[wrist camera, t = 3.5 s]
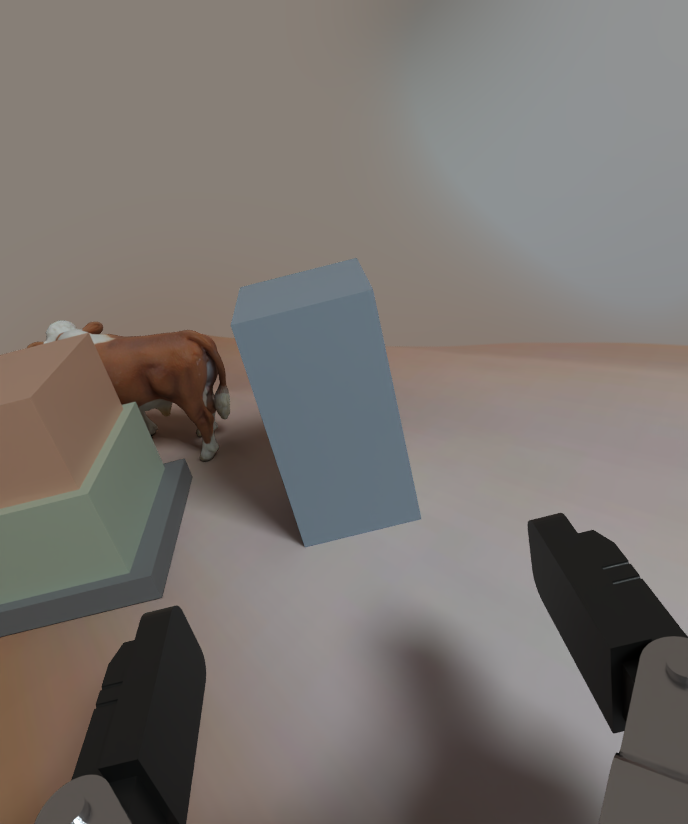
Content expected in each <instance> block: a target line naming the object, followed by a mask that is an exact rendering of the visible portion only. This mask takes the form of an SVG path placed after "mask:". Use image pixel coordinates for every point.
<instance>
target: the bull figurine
mask: <svg viewBox="0 0 688 824" xmlns="http://www.w3.org/2000/svg"><path fill="white" fill-rule="evenodd" d="M102 330H103V325H102V324H101V323H100V322H90V323H88V324H87V325H86V326H85V327H84V328H83V329H80V330H79V329H77V328H76V326H75V325H74V324H73V323H71V322H68V321H57V322H55V323H53V324H51V325H50V326H49V328H48V329H47V331H46V341H45V342H34V343H32V344H30V345H29V346H28V347H27V348H30V347H34V346H38V345H41V344H45V343H49V342H53V341H57V340H61V339H65V338H69V337H73V336H77V335H81V334H85V333H89V334H90V336H91V338H92V341H93V343H94V345H95V347H96V349H97V352H98V354H99V356H100V358H101V360H102V363H103V365H104V367H105V369H106V371H107V374H108V376H109V378H110V380H111V382H112V385H113V387H114V389H115V391H116V393H117V396H118V398H119V400H120V402H121V404H122V405H124V404H128V403H132V402H136V404H137V406H138V408H139V410H140V413H141V415H142V417H143V420H144V422H145V424H146V426H147V429H148V431H149V433H150V435H152V434H154V433H155V432H156V430H157V429H158V427H157V425H156V424H154V423H153V422H152V421H151V420H150V419H149V418H148V417H147V415H146V413H145V411H149V410H151V409H154V408H156V409H158V410H159V411H160V412H161V413H162V414H163V415H164V416H169V415H170V410H171V407H172V403H175V404H177V405H178V406H179V407H180V408H182V409H183V410H184V411H185V413H186V414H187V415H188V417H189V418H190V419H191V420H192V421H193V422H194V423H195V424H196V426H197V428H198V429H197V432H196V433H197V435H198V436H202V439H203V448H202V451H201V455H200V460H202V461H208V460H210V459H212V458H213V457H214V455H215V452H216V451H217V450H218V448H219V445H218V444H217V443H216V440H215V437H214V430H215V429H217V428H218V425H217V423H216V422H215V413H216V410H217V412H218V414H219V415H220V417H221V418H222V419H227V418H228V416H229V414H230V395H229V391H228V388H227V385H226V378H225V377H226V375H225V368H224V365H223V362H222V360H221V357H220V355H219V353H218V352H217V348H216V345H215V343H214V341H213V340H212V339H211V338H210V337H208V336H206V335H203V334H200V333H198V332H196V331H192V330H184V331H179V332H172V333H161V334H154V335H148V336H134V337H133V336H131V337H123V336H117V335H112V334H100V333H101V332H102ZM218 374H219V380H220V384H219V387H218V389H217V391H216V393H215V395H214V394H213V385H214V383H215V381H216V378H217V375H218Z"/></svg>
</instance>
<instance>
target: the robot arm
mask: <svg viewBox="0 0 688 824" xmlns="http://www.w3.org/2000/svg"><path fill="white" fill-rule="evenodd" d="M528 535H529V544H530V553H531V562H532V571H533V576H534V580H535V584H536V587H537V590H538V593H539V595H540V597H541V599H542V601H543V603H544V605H545V607H546V609H547V611H548V613H549V615H550V616H551V618H552V620H553V622H554V624H555V626H556V628H557V629H558V631H559V633H560V635H561V637H562V639H563V641H564V643H565V644H566V646H567V648H568V650H569V652H570V654H571V656H572V658H573V659H574V661H575V663H576V665H577V667H578V669H579V671H580V673H581V674H582V676H583V678H584V680H585V682H586V684H587V686H588V687H589V689H590V691H591V693H592V695H593V697H594V699H595V701H596V702H597V704H598V706H599V708H600V710H601V712H602V714H603V716H604V717H605V719H606V721H607V723H608V725H609V727H610V729H611V731H612V732H613V733H618V732H622V731H624V736H623V740H622V745H621V749H620V752H619V753H616V754H615V756H614V759H613V762H612V766H611V770H610V774H609V779H608V783H607V788H606V793H605V797H604V802H603V806H602V811H601V815H600V820H599V824H688V636H687V635H686V634H685V633H684V632H683V630H682V629H681V628H680V627H679V625H678V624H677V623H676V621H675V620H674V619H673V618H672V616H671V615H670V614H669V612H668V611H667V610H666V609H665V607H664V606H663V605H662V603H661V602H660V601H659V600H658V598H657V597H656V596H655V594H654V593H653V592H652V591H651V589H650V588H649V587H648V585H647V584H646V583H645V582H644V580H643V579H641V578H640V576H639V574H638V573H637V571H636V570H635V569H634V567H633V566H632V565H631V564H629V562H628V560H627V558H626V557H625V556H624V555H623V553H622V552H621V551H620V549H619V548H618V547H617V546H616V544H615V543H614V542H612V541H611V540H609V539H607V538H606V537H604V536H602V535H601V534H599V533H598V532H596V531H594V530H590V531H586V532H582V533H577V532H576V530H575V529H574V527H573V526H572V525H571V523H570V522H569V520H568V519H567V518H566V516H565V515H564V514H563V513H558V514H554V515H550V516H546V517H542V518H538V519H533V520H529V521H528ZM205 683H206V665H205V659H204V655H203V652H202V650H201V648H200V646H199V644H198V642H197V640H196V638H195V636H194V633H193V631H192V629H191V627H190V625H189V623H188V621H187V619H186V617H185V615H184V613H183V611H182V609H181V608H180V607H179V606H173V607H168V608H164V609H160V610H156V611H152V612H148V613H145V614H143V615H142V617H141V620H140V623H139V627H138V630H137V634H136V637H135V640H133V641H129V642H125V643H123V645H122V646H121V647H120V649H119V650H118V652H117V653H116V655H115V656H114V657H113V659H112V660H111V662H110V663H109V665H108V668H107V671H106V674H105V677H104V680H103V683H102V690H101V691H100V693H99V696H98V699H97V702H96V709H94V711H93V715H92V718H91V721H90V724H89V727H88V730H87V733H86V736H85V740H84V743H83V746H82V749H81V752H80V755H79V758H78V761H77V765H76V768H75V771H74V774H73V777H72V779H71V781H70V782H68V783H66V784H65V785H64V786H62V787H61V788H60V789H59V790H58V791H56V792H55V793H54V794H53V795H52V796H51V797H50V799H49V800H48V801H47V802H46V804H45V805H44V806H43V808H42V809H41V811H40V813H39V814H38V816H37V819H36V821H35V823H34V824H186V820H187V813H188V806H189V798H190V791H191V784H192V777H193V770H194V762H195V755H196V748H197V741H198V733H199V726H200V719H201V712H202V705H203V697H204V690H205Z"/></svg>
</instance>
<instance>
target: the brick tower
mask: <svg viewBox="0 0 688 824" xmlns="http://www.w3.org/2000/svg"><path fill="white" fill-rule="evenodd" d="M191 480H192V475H191V472H190V470H189V468H188V465H187V463H186V460H185V459H181V460H177V461H173V462H169V463H165V464H163V463H162V460H161V458H160V456H159V454H158V451H157V449H156V447H155V444H154V442H153V440H152V438H151V435H150V433H149V431H148V429H147V426H146V424H145V422H144V420H143V417H142V415H141V413H140V410H139V408H138V406H137V404H136V402H132V403H128V404H124V405H122V404H121V402H120V400H119V398H118V396H117V393H116V391H115V389H114V387H113V385H112V382H111V380H110V378H109V376H108V374H107V371H106V369H105V367H104V365H103V363H102V360H101V358H100V356H99V354H98V352H97V349H96V347H95V345H94V343H93V341H92V338H91V336H90V334H89V333H85V334H81V335H77V336H73V337H69V338H65V339H61V340H57V341H53V342H49V343H45V344H41V345H38V346H34V347H30V348H26V349H22V350H18V351H14V352H10V353H6V354H2V355H0V637H2V636H6V635H10V634H14V633H18V632H22V631H26V630H30V629H35V628H39V627H43V626H47V625H51V624H55V623H59V622H63V621H67V620H72V619H76V618H80V617H84V616H88V615H92V614H96V613H100V612H104V611H109V610H113V609H117V608H121V607H125V606H129V605H133V604H137V603H141V602H146V601H150V600H154V599H158V598H162V596H163V592H164V588H165V584H166V580H167V576H168V572H169V568H170V564H171V560H172V556H173V552H174V548H175V544H176V540H177V536H178V532H179V528H180V524H181V520H182V516H183V512H184V508H185V504H186V500H187V496H188V492H189V488H190V484H191Z"/></svg>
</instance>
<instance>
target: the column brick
mask: <svg viewBox="0 0 688 824" xmlns="http://www.w3.org/2000/svg"><path fill="white" fill-rule="evenodd" d="M231 327H232V330H233V333H234V337H235V340H236V342H237V345H238V348H239V351H240V354H241V357H242V360H243V363H244V366H245V369H246V372H247V375H248V378H249V381H250V384H251V387H252V390H253V393H254V396H255V399H256V402H257V405H258V408H259V411H260V414H261V417H262V420H263V423H264V426H265V429H266V432H267V435H268V438H269V441H270V444H271V447H272V450H273V453H274V456H275V459H276V462H277V465H278V468H279V471H280V474H281V477H282V480H283V483H284V486H285V489H286V492H287V495H288V498H289V501H290V504H291V507H292V510H293V513H294V516H295V519H296V522H297V525H298V528H299V531H300V534H301V537H302V540H303V543H304V546H305V547H308V546H312V545H317V544H321V543H325V542H329V541H333V540H337V539H341V538H345V537H349V536H353V535H358V534H362V533H366V532H370V531H374V530H378V529H382V528H386V527H390V526H395V525H399V524H403V523H407V522H411V521H415V520H419V519H421V515H420V510H419V505H418V501H417V496H416V491H415V486H414V482H413V477H412V472H411V467H410V463H409V458H408V453H407V449H406V444H405V439H404V434H403V430H402V425H401V420H400V415H399V411H398V406H397V401H396V396H395V392H394V387H393V382H392V377H391V373H390V368H389V363H388V358H387V354H386V349H385V344H384V340H383V335H382V330H381V326H380V321H379V316H378V311H377V307H376V302H375V297H374V292H373V289H372V287H371V285H370V283H369V281H368V279H367V277H366V275H365V273H364V271H363V269H362V267H361V265H360V263H359V261H358V259H357V258H354V259H350V260H346V261H342V262H338V263H335V264H331V265H327V266H323V267H319V268H315V269H311V270H307V271H303V272H299V273H295V274H291V275H287V276H283V277H279V278H275V279H271V280H268V281H264V282H260V283H256V284H252V285H248V286H244V287H241V288H240V290H239V294H238V298H237V302H236V306H235V311H234V315H233V319H232V322H231Z"/></svg>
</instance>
